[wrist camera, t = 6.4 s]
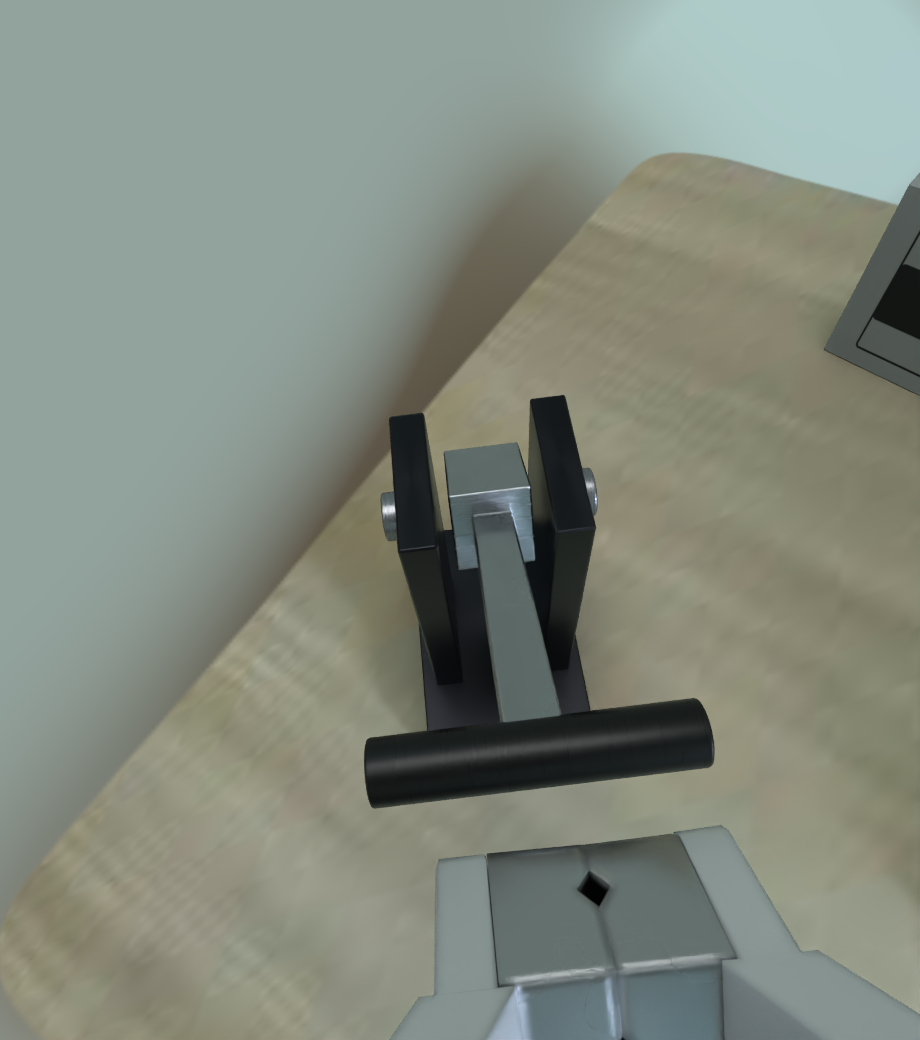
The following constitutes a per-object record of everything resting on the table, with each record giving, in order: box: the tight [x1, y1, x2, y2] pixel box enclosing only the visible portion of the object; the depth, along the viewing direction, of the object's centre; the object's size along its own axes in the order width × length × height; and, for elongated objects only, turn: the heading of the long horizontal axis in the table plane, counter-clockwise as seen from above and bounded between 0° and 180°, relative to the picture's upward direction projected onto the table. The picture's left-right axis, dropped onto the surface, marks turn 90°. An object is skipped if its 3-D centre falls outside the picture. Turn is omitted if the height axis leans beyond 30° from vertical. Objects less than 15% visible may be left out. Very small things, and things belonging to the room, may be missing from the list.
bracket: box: [381, 395, 597, 731], centre depth 24 cm, size 9×6×12 cm, turn 6°
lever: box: [364, 443, 714, 808], centre depth 17 cm, size 11×6×2 cm, turn 7°
